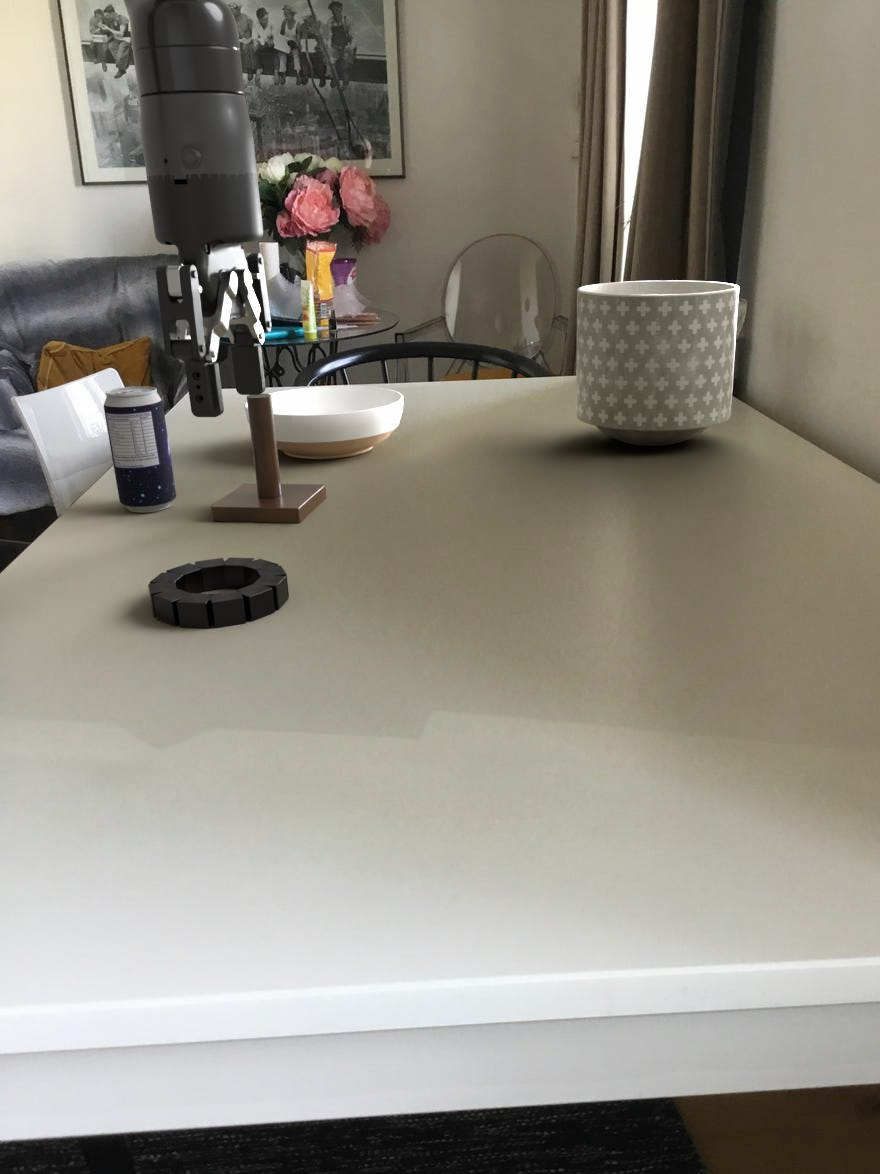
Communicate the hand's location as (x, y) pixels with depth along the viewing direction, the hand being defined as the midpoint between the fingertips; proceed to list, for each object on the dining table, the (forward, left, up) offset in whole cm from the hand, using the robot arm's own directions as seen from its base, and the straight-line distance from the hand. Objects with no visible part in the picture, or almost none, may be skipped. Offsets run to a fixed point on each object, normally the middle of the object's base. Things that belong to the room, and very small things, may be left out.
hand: (230, 404), depth 80 cm
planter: (+31, +57, -15) cm, 67 cm away
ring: (-2, -3, -15) cm, 15 cm away
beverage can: (-20, +23, -15) cm, 34 cm away
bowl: (-9, +50, -15) cm, 53 cm away
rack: (-7, +23, -15) cm, 28 cm away
